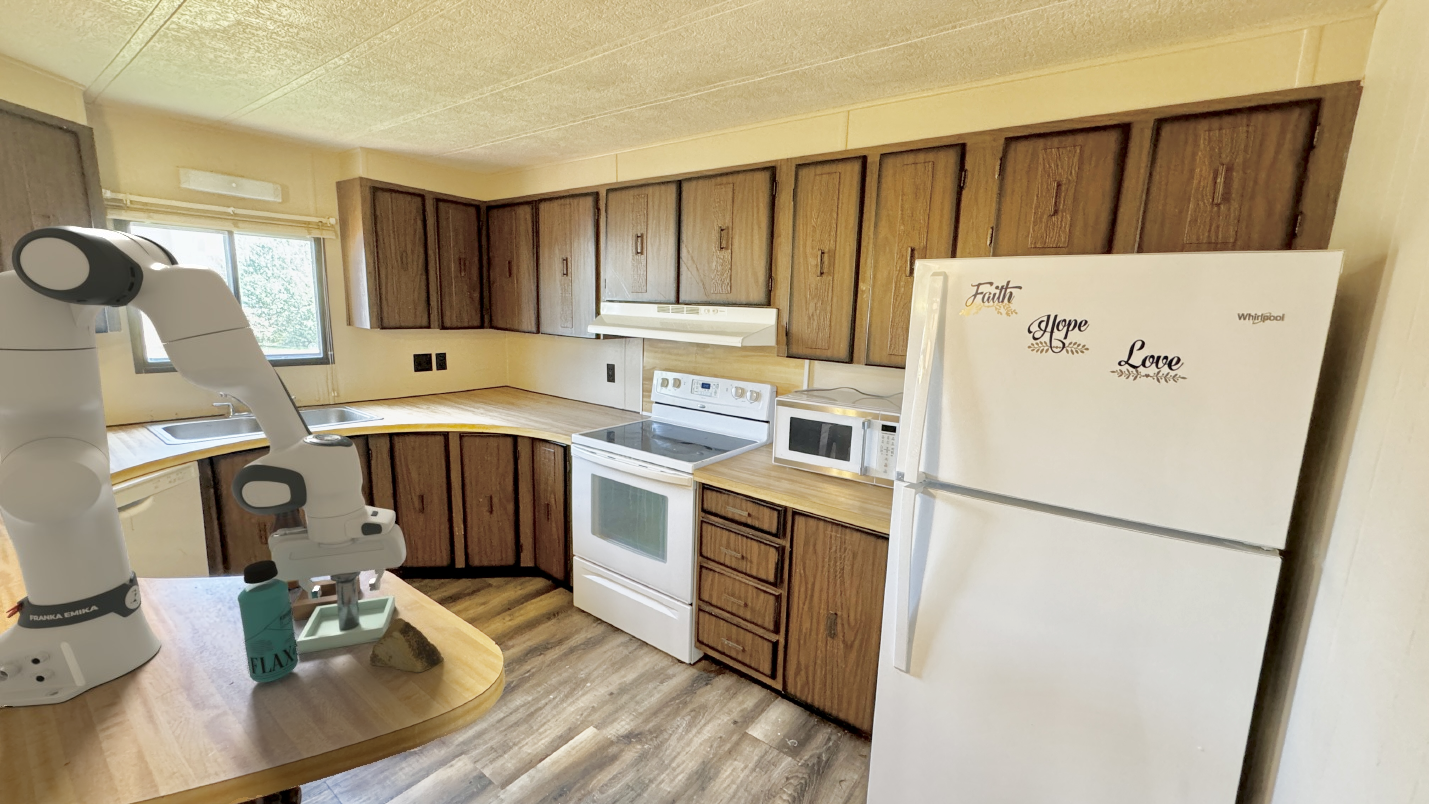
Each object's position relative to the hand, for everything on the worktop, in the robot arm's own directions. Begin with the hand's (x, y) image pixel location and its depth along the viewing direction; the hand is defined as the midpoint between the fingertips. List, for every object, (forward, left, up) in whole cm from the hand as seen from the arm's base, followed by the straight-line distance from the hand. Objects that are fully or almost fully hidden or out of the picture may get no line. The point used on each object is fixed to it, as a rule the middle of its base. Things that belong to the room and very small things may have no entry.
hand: (345, 593), depth 101 cm
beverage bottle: (-8, -11, -8) cm, 15 cm away
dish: (0, 0, -7) cm, 7 cm away
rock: (+11, -13, -8) cm, 19 cm away
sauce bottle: (-15, +22, -8) cm, 27 cm away
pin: (0, 0, -7) cm, 7 cm away
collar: (-6, +11, -7) cm, 14 cm away
